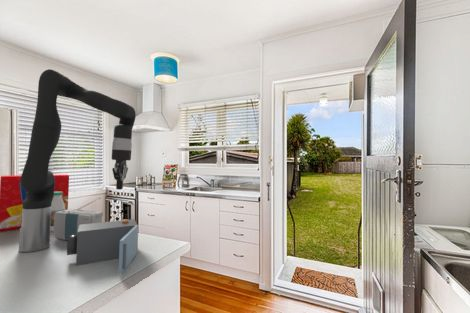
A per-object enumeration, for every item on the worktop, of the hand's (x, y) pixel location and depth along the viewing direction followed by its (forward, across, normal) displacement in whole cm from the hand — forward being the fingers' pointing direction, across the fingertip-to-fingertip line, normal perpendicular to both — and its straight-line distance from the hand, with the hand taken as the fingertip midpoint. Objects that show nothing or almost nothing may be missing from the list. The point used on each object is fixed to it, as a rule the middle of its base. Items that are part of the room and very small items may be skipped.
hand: (119, 189), depth 97 cm
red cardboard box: (+27, +38, +55) cm, 72 cm away
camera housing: (+26, -7, +2) cm, 26 cm away
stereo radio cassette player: (+26, +13, +21) cm, 36 cm away
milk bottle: (+26, +30, +40) cm, 57 cm away
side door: (+24, -16, -10) cm, 31 cm away
